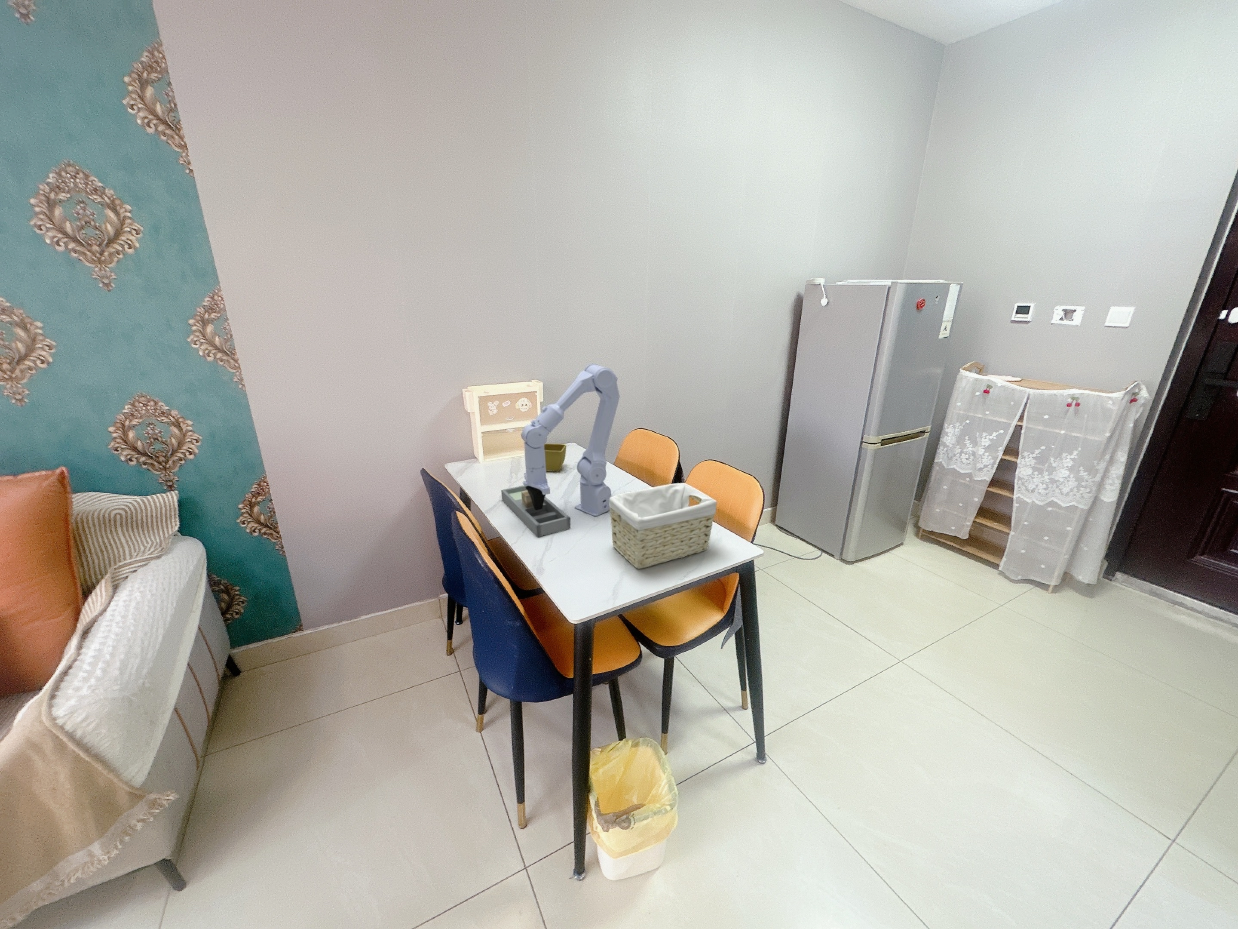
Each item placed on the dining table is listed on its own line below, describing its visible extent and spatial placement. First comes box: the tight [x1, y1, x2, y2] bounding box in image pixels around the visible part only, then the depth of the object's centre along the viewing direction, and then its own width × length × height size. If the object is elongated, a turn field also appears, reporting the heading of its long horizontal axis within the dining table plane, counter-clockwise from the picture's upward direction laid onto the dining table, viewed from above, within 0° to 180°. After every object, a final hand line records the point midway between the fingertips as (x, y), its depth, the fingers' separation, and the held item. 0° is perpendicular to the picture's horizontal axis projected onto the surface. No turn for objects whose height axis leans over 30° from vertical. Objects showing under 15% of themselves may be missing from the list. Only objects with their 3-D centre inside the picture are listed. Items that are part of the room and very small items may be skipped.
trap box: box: [500, 485, 571, 538], centre depth 147 cm, size 30×10×4 cm, turn 32°
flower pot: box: [544, 443, 567, 473], centre depth 183 cm, size 9×9×9 cm
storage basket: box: [609, 482, 718, 570], centre depth 125 cm, size 24×16×15 cm
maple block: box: [521, 491, 533, 508], centre depth 149 cm, size 4×4×4 cm
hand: (538, 508), depth 144 cm, fingers closed
